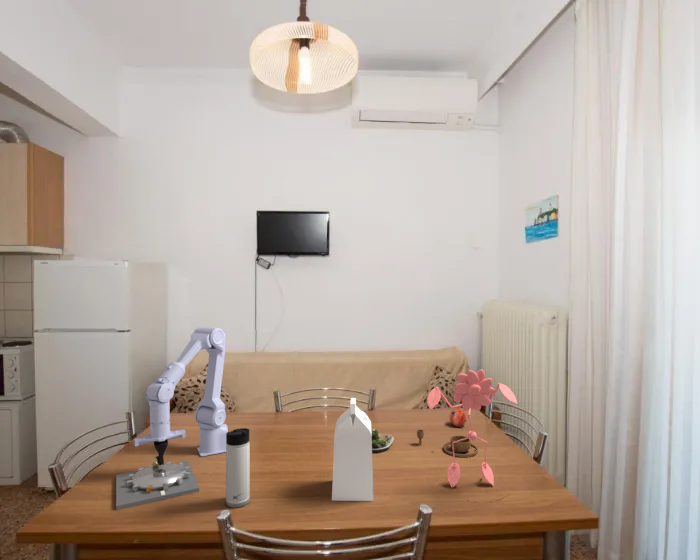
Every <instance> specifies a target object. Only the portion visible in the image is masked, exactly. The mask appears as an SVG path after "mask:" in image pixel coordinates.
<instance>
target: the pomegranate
mask: <svg viewBox="0 0 700 560" xmlns="http://www.w3.org/2000/svg"><path fill="white" fill-rule="evenodd" d="M448 416H449V422H450V424H452V425H453V426H455V427H456V428H462V427H463V426H464V425H466V422H467V419H468V418H467V414H466V411H464V410H463V408H454V409H452V410H451V412H450V414H449V415H448Z"/></svg>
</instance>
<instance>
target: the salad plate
mask: <svg viewBox="0 0 700 560" xmlns="http://www.w3.org/2000/svg"><path fill="white" fill-rule="evenodd" d="M371 434H372V454H378V453H384V452H385V451H387V450H389V449H390V447H391V445H393V442H394V441H395V438H394V436H392V435H390V434H386V433H384V434H383V433H379V429H377V428H371Z"/></svg>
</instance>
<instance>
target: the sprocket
mask: <svg viewBox="0 0 700 560" xmlns="http://www.w3.org/2000/svg"><path fill="white" fill-rule="evenodd" d="M182 462H183V461H181V463H180V462H178V463H179V464H175V463H172V461H167V462H166V463H165V462H164V465H159V454H158V455H157V454H156V455H153V456H152V464H151V465H150V466H147V467H139V468H138V469H137V471H138V472H137V473H135V474H130V475H129V476H128V480H129V481H127V487H128V486H132V485H133V486H132V490H133V491H137V490H139V489H140V490H146V492H151V491H152V490H157V489H162V488H163V490H167V489H168V487H170V486H172V485H175V484H179V485H180V484H182V483H183V479H184V478H189V477H190V472H189V471H190V466H191V465H190V466H187V467H184V463H182Z"/></svg>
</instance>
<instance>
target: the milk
mask: <svg viewBox="0 0 700 560" xmlns="http://www.w3.org/2000/svg"><path fill="white" fill-rule="evenodd" d="M349 404H350V407H349V408H347V409H346V411H344V412H343V413H342V414H341V415H340V416H339V417H338V418H337V420H336V423H335V428H334V434H333V435H334V437H333V438H334V439H333V460H332V461H333V464H332V466H333V467H332V468H333V469H332V487H331V488H332V489H331V490H332V491H331V501H340V502H341V501H342V502H344V501H345V502H348V501H349V502H350V501H351V502H352V501H353V502H374V478H373V477H374V476H373V474H374V473H373V453H372V434H371V430H372V421H371V420H370V418H369V416H368V414H366V412H364V411H363V410H361V409H360V408H359V407H358V406H357V399H356V397H351V398H350V403H349Z"/></svg>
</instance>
